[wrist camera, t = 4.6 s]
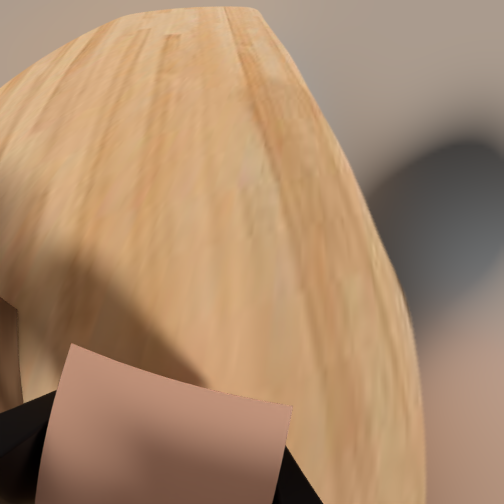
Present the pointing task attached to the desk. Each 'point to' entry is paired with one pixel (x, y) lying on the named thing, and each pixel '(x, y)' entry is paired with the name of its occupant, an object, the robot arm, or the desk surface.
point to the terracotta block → (156, 440)
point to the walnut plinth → (9, 359)
